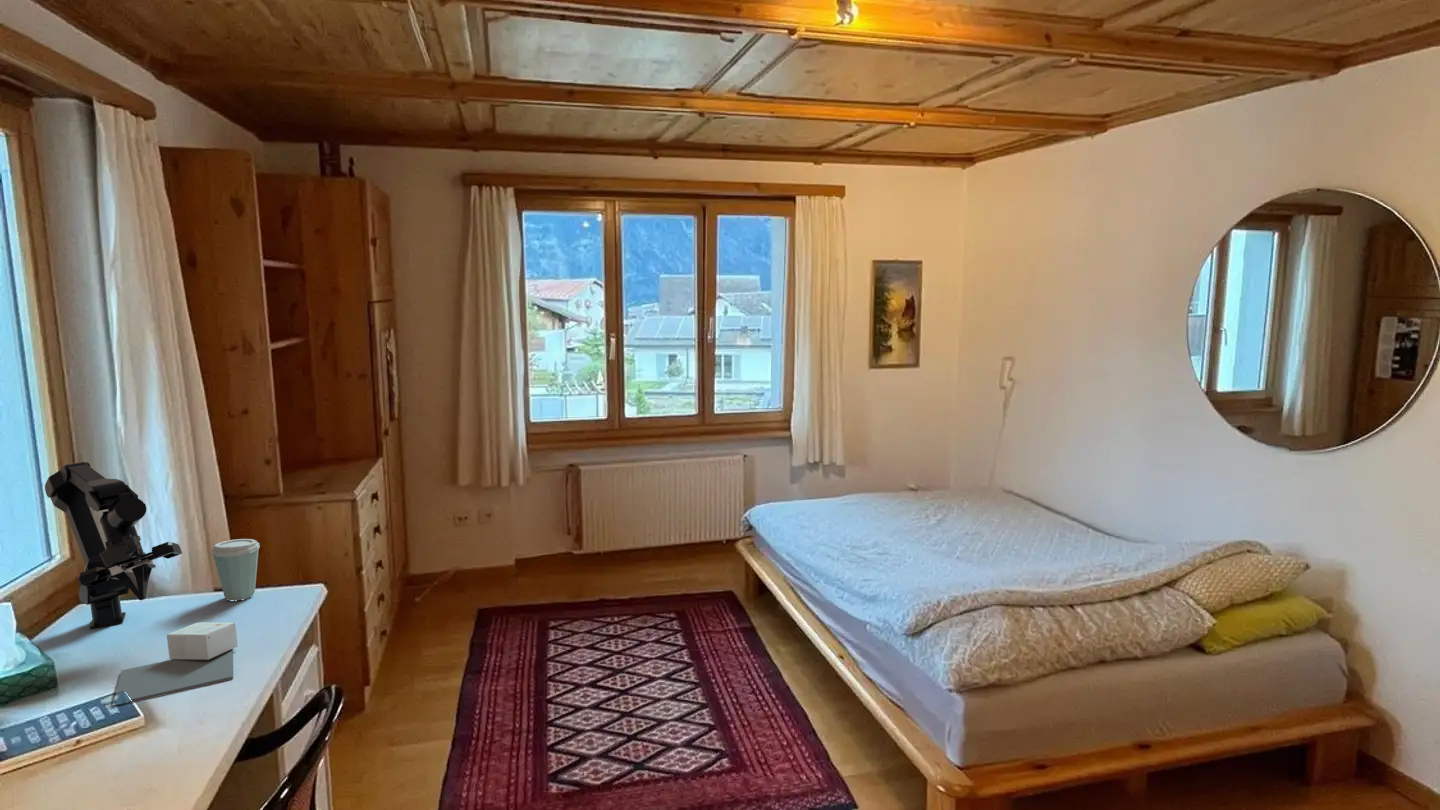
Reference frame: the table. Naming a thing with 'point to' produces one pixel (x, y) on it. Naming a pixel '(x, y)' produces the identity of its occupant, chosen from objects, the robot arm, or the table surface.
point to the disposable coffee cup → (237, 567)
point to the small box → (202, 641)
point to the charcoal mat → (174, 676)
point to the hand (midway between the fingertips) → (142, 599)
